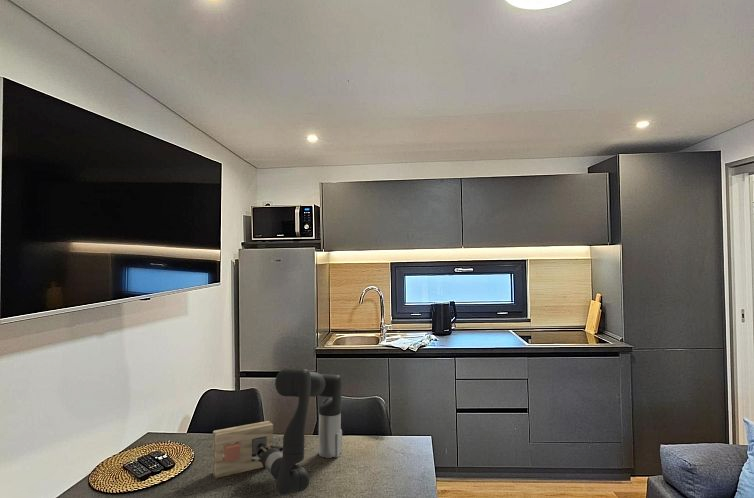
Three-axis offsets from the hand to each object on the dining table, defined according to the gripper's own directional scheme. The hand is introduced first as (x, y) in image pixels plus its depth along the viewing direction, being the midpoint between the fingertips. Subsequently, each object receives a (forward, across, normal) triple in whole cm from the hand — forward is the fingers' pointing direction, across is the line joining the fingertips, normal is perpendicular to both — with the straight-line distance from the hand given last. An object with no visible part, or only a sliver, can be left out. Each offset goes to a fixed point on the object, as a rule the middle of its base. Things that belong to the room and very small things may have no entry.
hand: (260, 446), depth 180 cm
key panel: (+4, +6, +9) cm, 11 cm away
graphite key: (+1, 0, +2) cm, 3 cm away
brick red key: (0, +11, +2) cm, 11 cm away
